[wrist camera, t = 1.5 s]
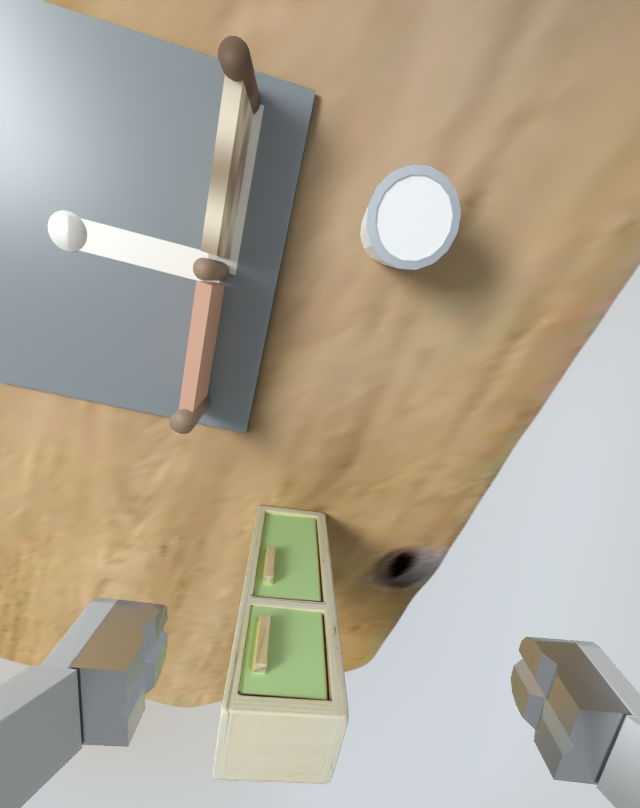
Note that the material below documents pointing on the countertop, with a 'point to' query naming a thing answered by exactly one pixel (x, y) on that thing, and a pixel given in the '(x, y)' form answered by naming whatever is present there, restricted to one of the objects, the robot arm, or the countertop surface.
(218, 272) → the hinged fence panel
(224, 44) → the fixed fence panel
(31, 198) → the card
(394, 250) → the white cup
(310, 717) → the toy refrigerator
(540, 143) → the countertop surface
